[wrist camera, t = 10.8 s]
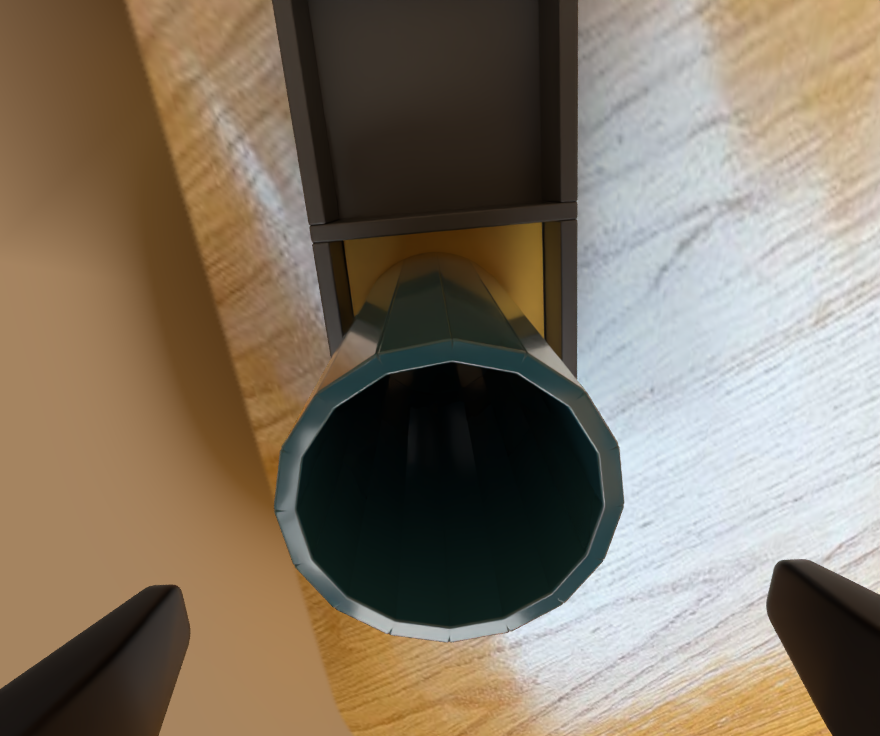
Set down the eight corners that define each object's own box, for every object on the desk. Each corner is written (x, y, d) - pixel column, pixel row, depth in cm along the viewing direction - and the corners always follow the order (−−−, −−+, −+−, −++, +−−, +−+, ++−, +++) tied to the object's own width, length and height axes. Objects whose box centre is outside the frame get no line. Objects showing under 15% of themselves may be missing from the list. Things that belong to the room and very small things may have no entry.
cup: (333, 347, 18) (214, 552, 8) (414, 220, 17) (396, 265, 7) (455, 421, 19) (490, 685, 9) (539, 306, 18) (695, 462, 8)
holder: (556, 407, 20) (577, 442, 17) (358, 425, 20) (347, 463, 17) (550, -59, 15) (578, -116, 12) (288, -35, 15) (257, -87, 12)
